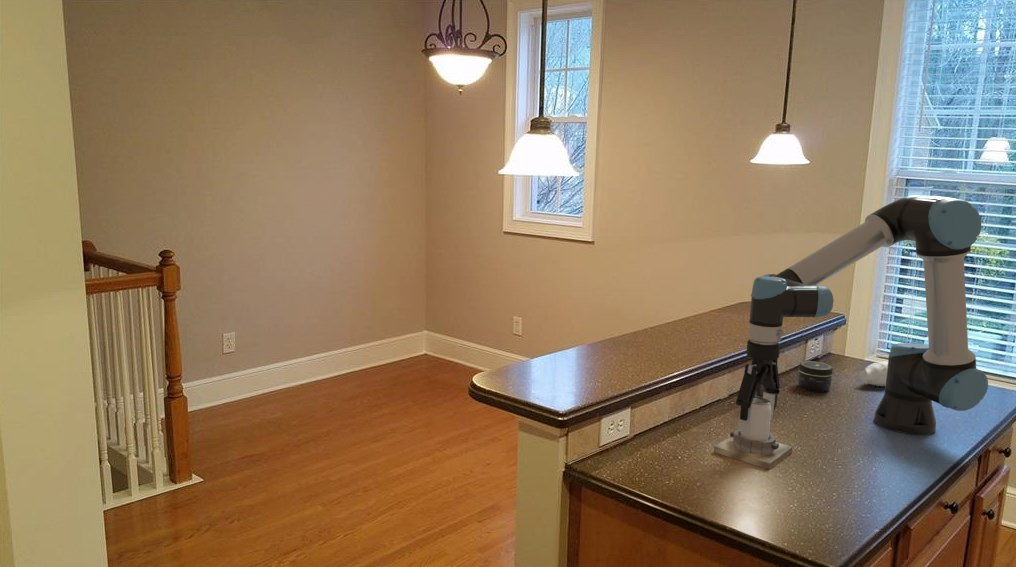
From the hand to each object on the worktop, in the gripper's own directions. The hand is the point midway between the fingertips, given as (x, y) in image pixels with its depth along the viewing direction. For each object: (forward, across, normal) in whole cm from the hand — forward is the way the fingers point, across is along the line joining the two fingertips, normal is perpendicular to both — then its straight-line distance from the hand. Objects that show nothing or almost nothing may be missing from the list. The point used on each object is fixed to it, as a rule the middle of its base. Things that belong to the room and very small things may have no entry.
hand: (755, 425), depth 181 cm
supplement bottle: (+7, +37, +12) cm, 40 cm away
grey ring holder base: (+7, 0, 0) cm, 7 cm away
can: (+6, 0, 0) cm, 6 cm away
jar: (+7, +65, +8) cm, 66 cm away
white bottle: (+7, +86, -8) cm, 87 cm away
